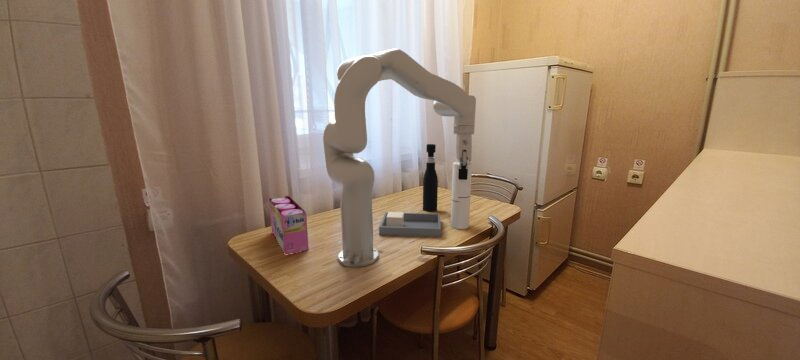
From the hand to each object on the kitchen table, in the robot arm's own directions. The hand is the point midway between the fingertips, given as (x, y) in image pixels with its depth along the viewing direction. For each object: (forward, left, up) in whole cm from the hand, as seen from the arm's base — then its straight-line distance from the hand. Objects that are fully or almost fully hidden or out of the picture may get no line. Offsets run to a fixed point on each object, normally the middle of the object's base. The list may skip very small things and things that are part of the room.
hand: (461, 176), depth 121 cm
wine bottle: (+16, +12, -20) cm, 28 cm away
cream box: (-6, +25, -19) cm, 32 cm away
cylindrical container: (0, 0, -20) cm, 20 cm away
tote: (-6, +19, -20) cm, 28 cm away
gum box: (-20, +61, -20) cm, 67 cm away
